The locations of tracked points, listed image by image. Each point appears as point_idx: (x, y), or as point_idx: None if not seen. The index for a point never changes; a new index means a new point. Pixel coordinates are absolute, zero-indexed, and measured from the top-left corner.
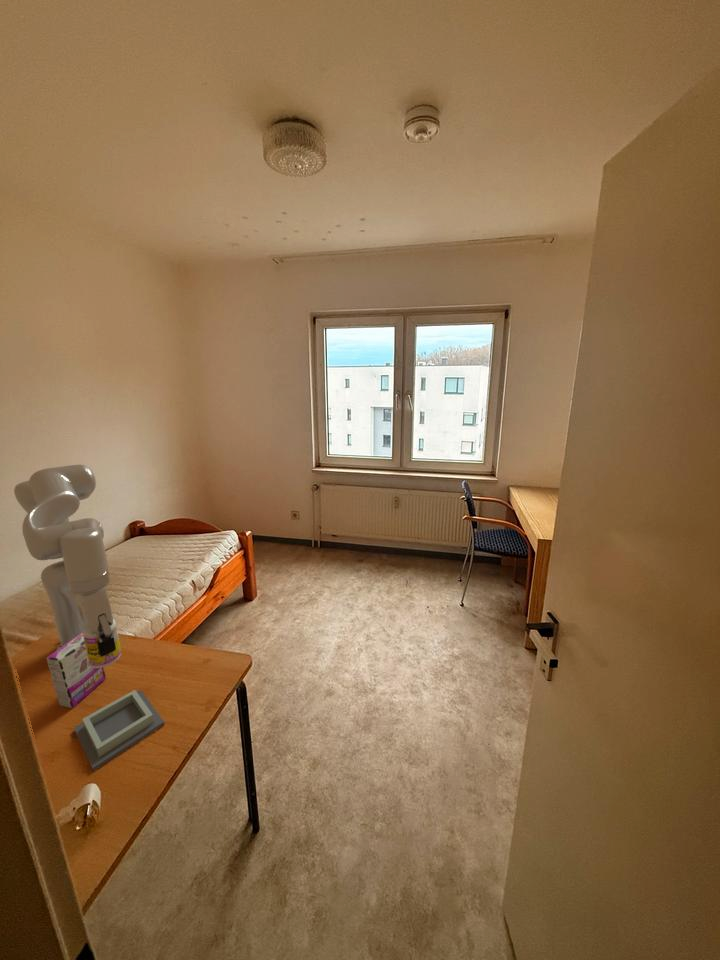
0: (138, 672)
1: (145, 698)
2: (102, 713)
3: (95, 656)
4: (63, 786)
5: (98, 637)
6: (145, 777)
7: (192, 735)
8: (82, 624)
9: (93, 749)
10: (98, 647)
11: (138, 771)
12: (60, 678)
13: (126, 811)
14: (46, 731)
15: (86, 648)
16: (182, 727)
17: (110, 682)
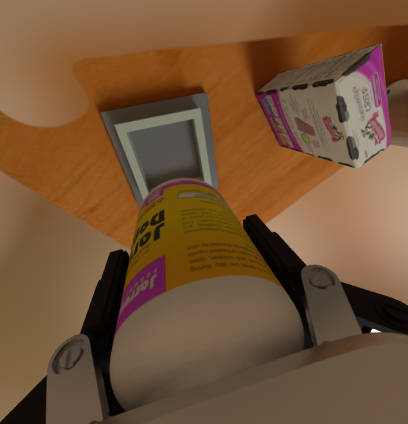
0: (258, 185)
1: None
2: (196, 138)
3: (137, 228)
4: (92, 65)
5: (47, 399)
6: (56, 174)
7: (102, 228)
8: (277, 383)
9: (138, 117)
10: (102, 289)
11: (71, 168)
12: (302, 79)
13: (3, 147)
14: (233, 47)
15: (175, 219)
16: (122, 220)
17: (267, 150)
